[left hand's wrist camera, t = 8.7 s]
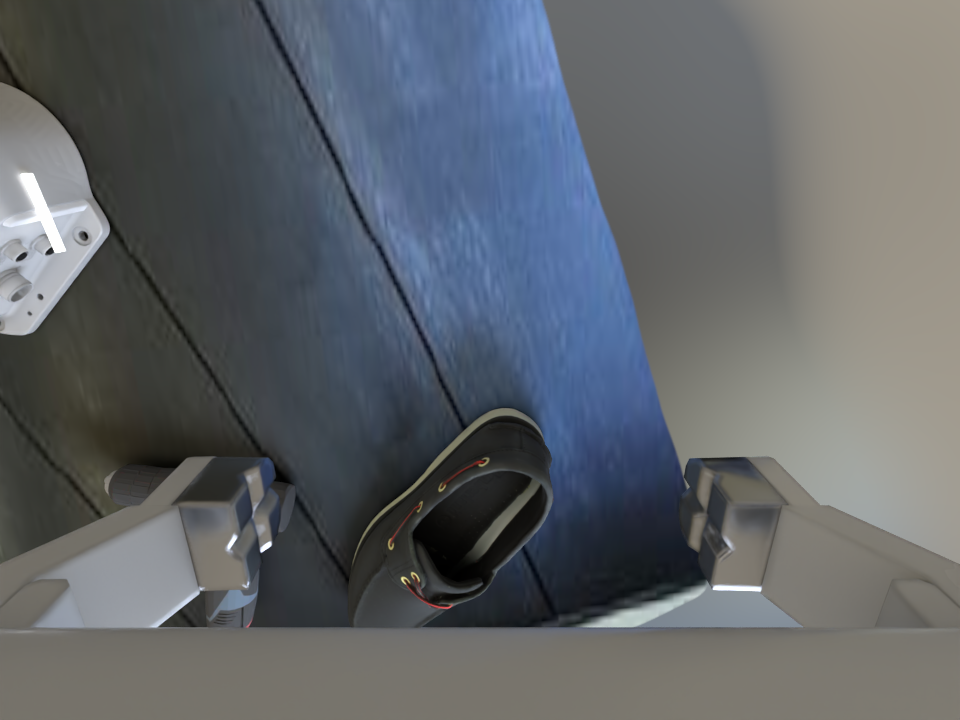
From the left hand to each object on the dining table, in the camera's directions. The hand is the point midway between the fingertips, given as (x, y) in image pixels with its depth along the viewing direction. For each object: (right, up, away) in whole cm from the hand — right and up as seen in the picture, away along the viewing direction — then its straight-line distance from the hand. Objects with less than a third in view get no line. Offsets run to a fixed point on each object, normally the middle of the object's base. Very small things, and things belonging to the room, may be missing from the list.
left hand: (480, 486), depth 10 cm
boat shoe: (-4, -16, +49) cm, 51 cm away
